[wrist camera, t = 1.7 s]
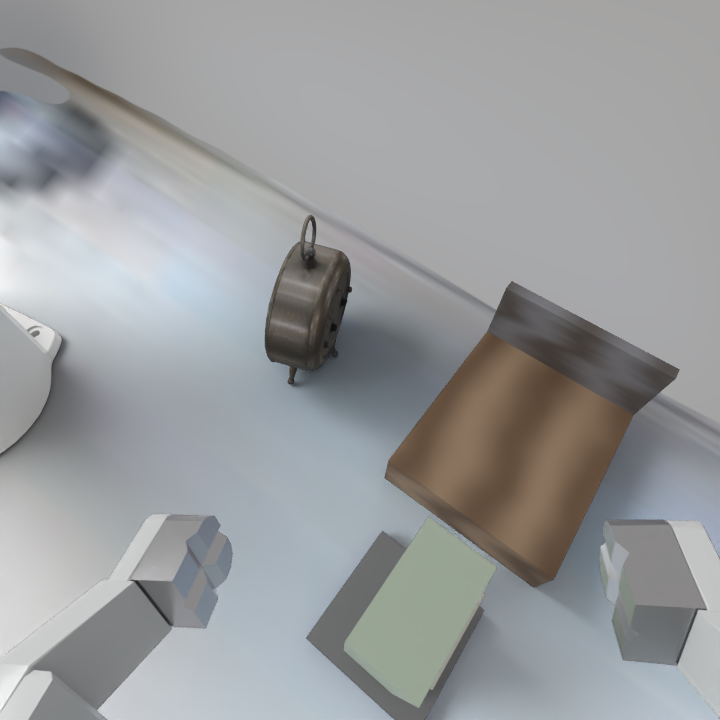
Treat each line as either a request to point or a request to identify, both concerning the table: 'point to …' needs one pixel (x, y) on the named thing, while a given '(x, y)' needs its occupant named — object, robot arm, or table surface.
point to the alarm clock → (307, 305)
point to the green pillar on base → (405, 618)
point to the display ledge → (527, 432)
